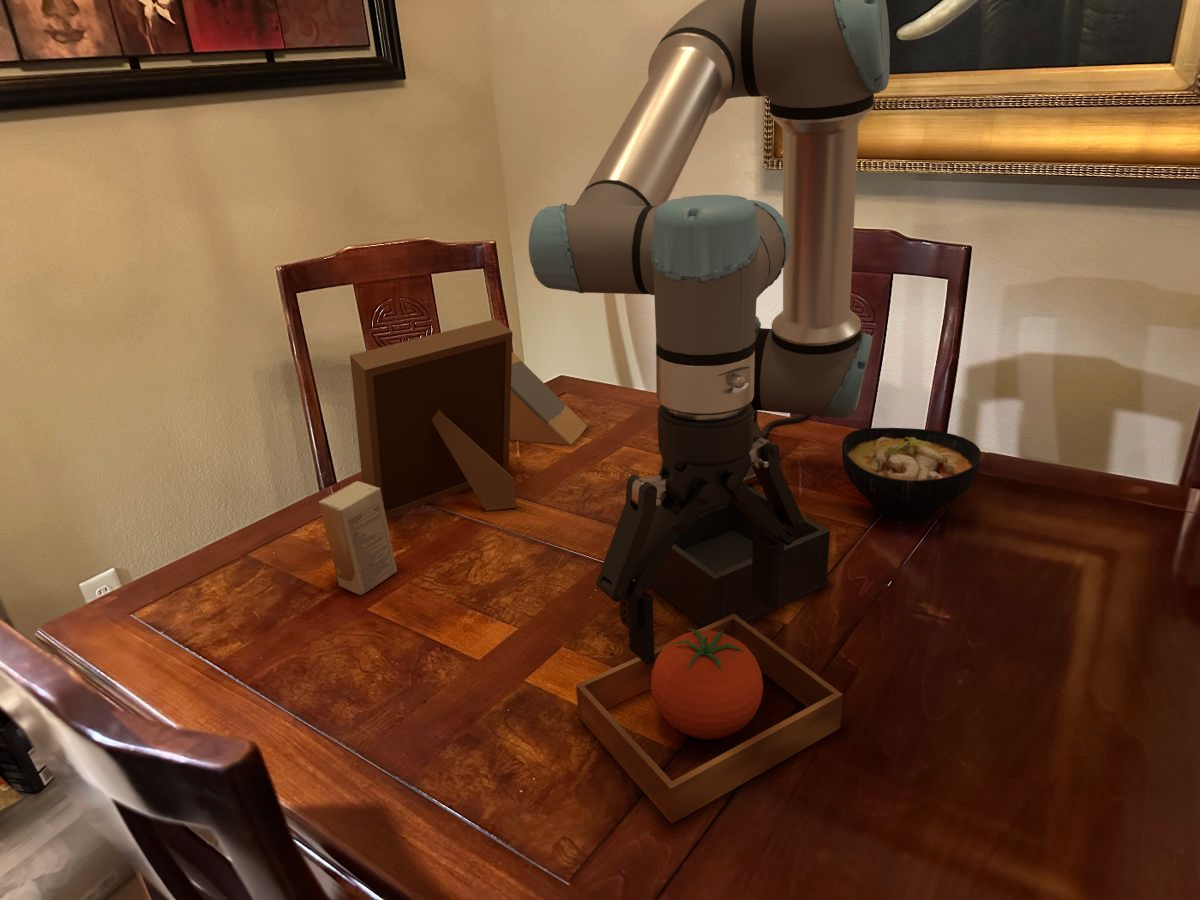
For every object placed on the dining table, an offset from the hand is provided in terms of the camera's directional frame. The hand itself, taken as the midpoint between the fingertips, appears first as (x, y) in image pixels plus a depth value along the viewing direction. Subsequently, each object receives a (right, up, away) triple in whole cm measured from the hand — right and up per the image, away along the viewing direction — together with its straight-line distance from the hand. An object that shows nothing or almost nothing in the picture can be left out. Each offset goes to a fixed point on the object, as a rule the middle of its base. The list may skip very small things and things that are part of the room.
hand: (705, 627), depth 74 cm
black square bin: (+6, 0, +27) cm, 27 cm away
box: (+1, -10, +5) cm, 11 cm away
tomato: (+1, -10, +5) cm, 11 cm away
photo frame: (-30, +8, +48) cm, 57 cm away
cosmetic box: (-38, -1, +31) cm, 49 cm away
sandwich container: (-20, +19, +71) cm, 76 cm away
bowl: (+32, +8, +40) cm, 51 cm away
